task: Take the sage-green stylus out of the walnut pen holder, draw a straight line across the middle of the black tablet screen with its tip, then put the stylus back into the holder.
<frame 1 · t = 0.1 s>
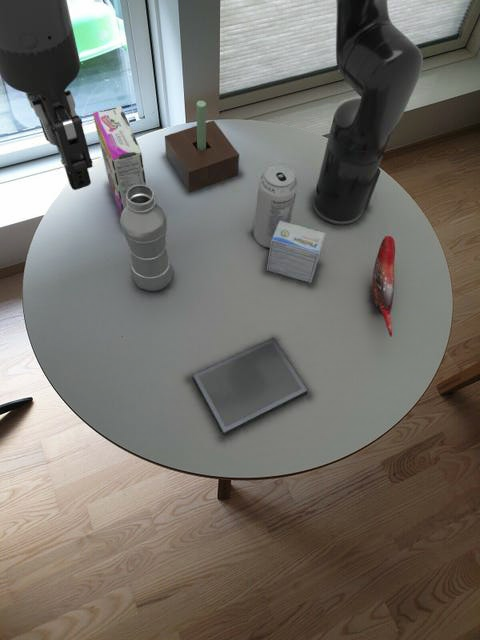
hand: (67, 161, 63), 29 cm above the table, tool pointing down, fingers open, 8 cm apart
tablet: (249, 386, 81), on the table
energy drink can: (269, 237, 96), on the table
holder: (201, 165, 104), on the table
stylus: (201, 136, 98), in the holder
medicine box: (291, 268, 93), on the table
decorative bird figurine: (375, 308, 90), on the table
plastic bottle: (153, 280, 90), on the table
candy bar box: (129, 204, 98), on the table
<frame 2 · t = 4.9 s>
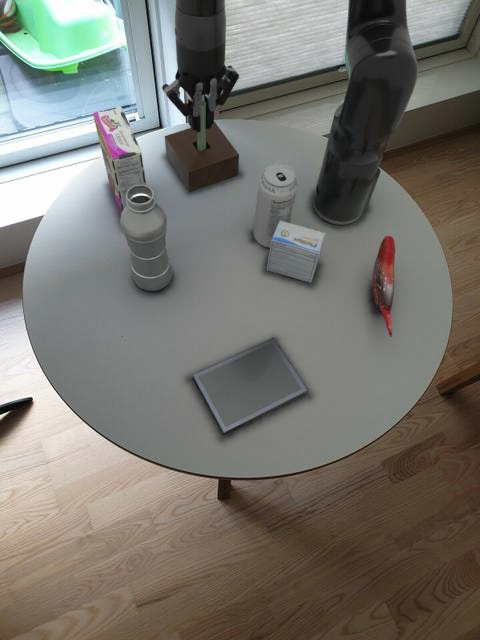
hand: (201, 127, 96), 9 cm above the table, tool pointing down, fingers closed on stylus, 1 cm apart
stylus: (201, 136, 98), in the holder, touching gripper
everything else where it was.
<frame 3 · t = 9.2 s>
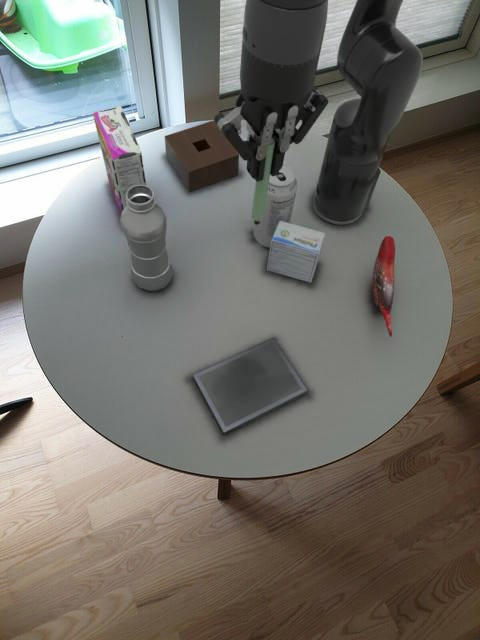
hand: (263, 173, 66), 27 cm above the table, tool pointing down, fingers closed on stylus, 1 cm apart
stylus: (261, 185, 68), point 25 cm above the table, touching gripper
everything else where it was.
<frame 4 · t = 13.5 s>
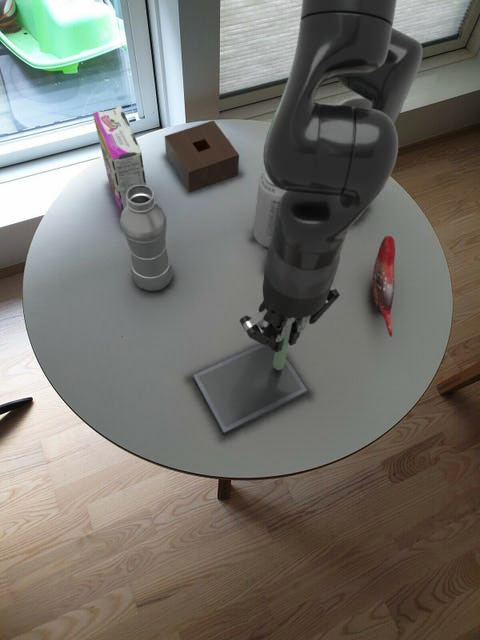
hand: (282, 342, 74), 10 cm above the table, tool pointing down, fingers closed on stylus, 1 cm apart
stylus: (281, 348, 75), on the tablet, point 8 cm above the table, touching gripper
everything else where it was.
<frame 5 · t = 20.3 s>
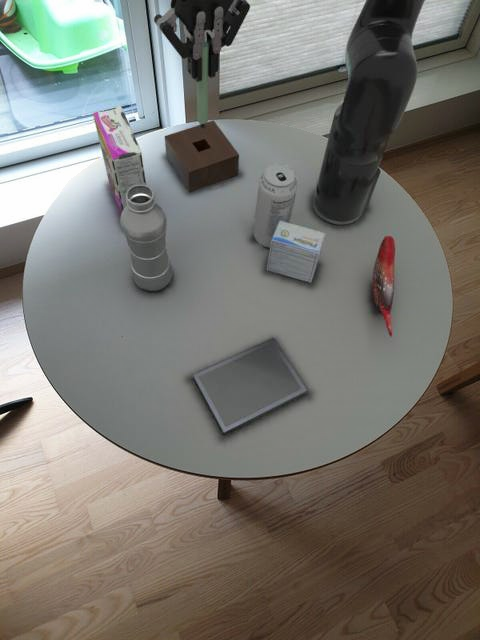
hand: (203, 75, 78), 25 cm above the table, tool pointing down, fingers closed on stylus, 1 cm apart
stylus: (202, 88, 80), point 23 cm above the table, touching gripper
everything else where it was.
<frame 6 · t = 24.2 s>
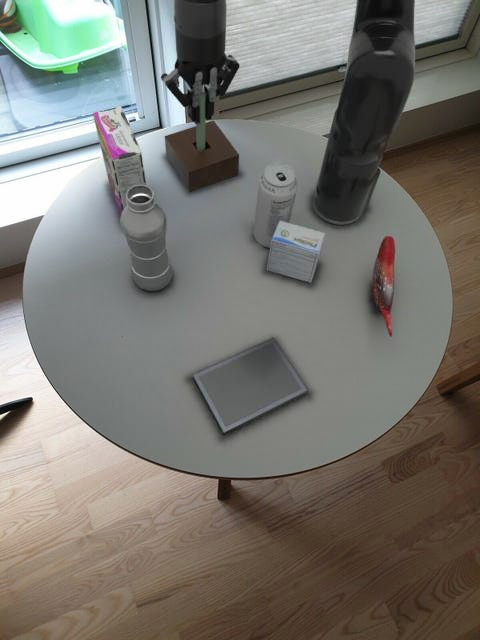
hand: (201, 118, 94), 11 cm above the table, tool pointing down, fingers closed on stylus, 1 cm apart
stylus: (200, 128, 96), in the holder, point 9 cm above the table, touching gripper
everything else where it was.
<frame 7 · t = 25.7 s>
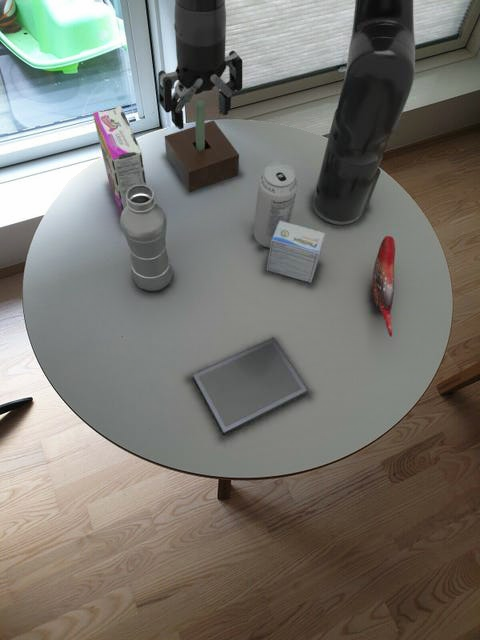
hand: (201, 119, 95), 11 cm above the table, tool pointing down, fingers open, 8 cm apart
stylus: (200, 135, 98), in the holder
everything else where it was.
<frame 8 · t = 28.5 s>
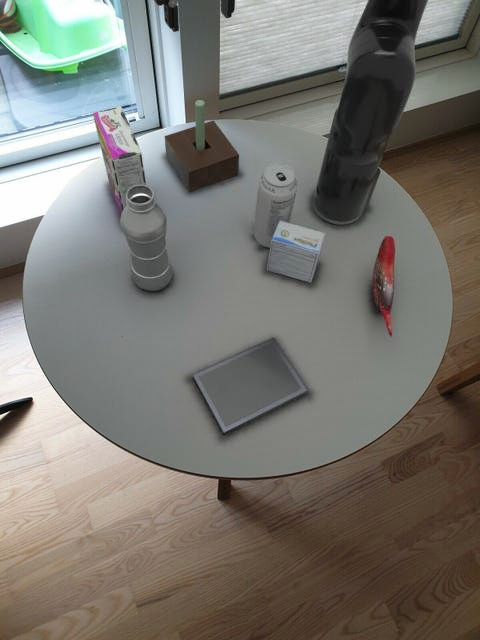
hand: (200, 21, 80), 28 cm above the table, tool pointing down, fingers open, 8 cm apart
nothing on the table moved.
at the end: stylus 0.3 cm off-centre in the holder, point 7.0 cm above the holder's base; stylus tilted 0°; stylus touching table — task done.
